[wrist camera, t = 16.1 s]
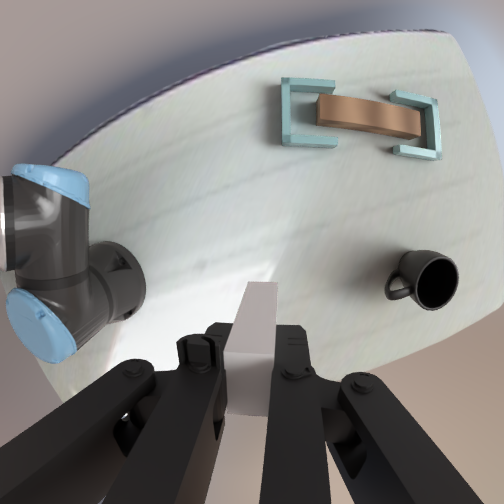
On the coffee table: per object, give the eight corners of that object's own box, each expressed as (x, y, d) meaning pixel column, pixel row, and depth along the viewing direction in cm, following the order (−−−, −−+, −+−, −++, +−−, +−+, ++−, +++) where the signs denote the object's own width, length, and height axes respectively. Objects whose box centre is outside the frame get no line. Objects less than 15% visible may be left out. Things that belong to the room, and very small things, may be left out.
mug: (368, 252, 42) (389, 268, 33) (429, 239, 40) (459, 251, 31) (372, 298, 44) (391, 323, 34) (431, 283, 42) (458, 303, 33)
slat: (315, 125, 39) (319, 118, 35) (316, 102, 38) (319, 93, 34) (408, 139, 38) (420, 135, 33) (408, 117, 37) (419, 111, 32)
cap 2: (429, 103, 35) (436, 99, 32) (433, 160, 37) (441, 159, 35) (389, 95, 36) (395, 89, 33) (393, 154, 38) (400, 152, 35)
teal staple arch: (282, 145, 40) (282, 142, 37) (281, 84, 38) (281, 77, 35) (334, 148, 39) (337, 145, 36) (331, 87, 37) (334, 80, 34)
